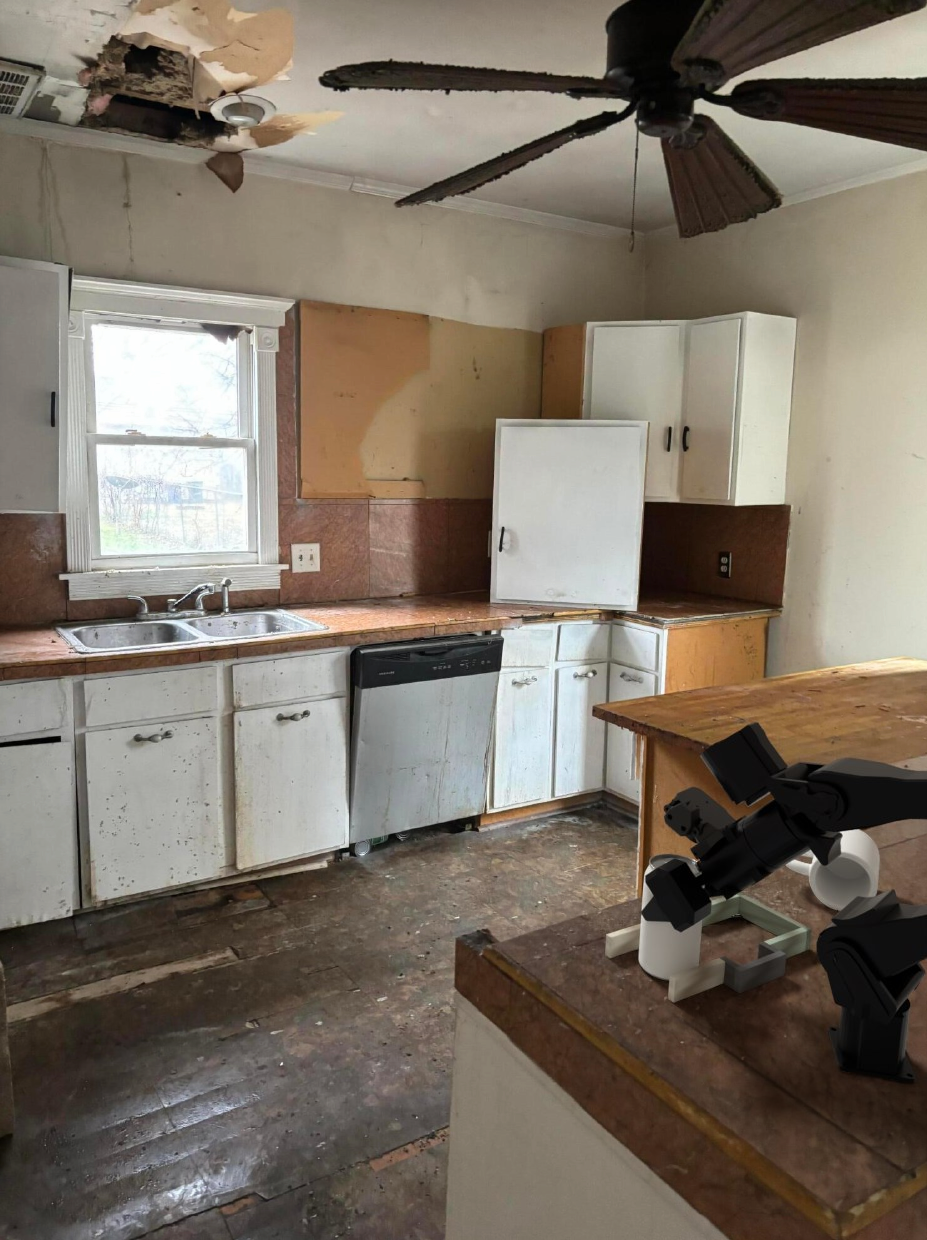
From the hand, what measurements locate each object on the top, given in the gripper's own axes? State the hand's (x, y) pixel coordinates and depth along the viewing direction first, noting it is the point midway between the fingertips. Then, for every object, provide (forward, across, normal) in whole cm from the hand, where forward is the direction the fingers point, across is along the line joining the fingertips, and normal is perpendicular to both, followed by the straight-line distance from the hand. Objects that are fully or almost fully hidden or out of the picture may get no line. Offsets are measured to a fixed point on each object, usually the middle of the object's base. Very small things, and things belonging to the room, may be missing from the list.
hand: (660, 906), depth 97 cm
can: (+4, 0, +6) cm, 7 cm away
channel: (+3, -6, +7) cm, 10 cm away
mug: (0, -32, +9) cm, 33 cm away
